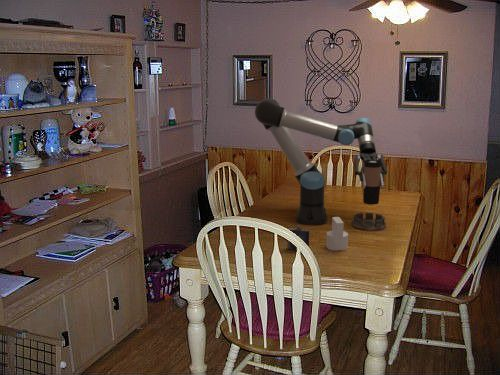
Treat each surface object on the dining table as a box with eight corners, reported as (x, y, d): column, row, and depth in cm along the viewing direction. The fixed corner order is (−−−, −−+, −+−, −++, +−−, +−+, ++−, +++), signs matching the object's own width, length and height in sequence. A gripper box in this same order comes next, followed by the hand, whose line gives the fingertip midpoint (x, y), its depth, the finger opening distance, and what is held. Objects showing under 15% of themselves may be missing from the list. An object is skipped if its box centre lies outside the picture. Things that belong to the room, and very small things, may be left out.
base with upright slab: (324, 243, 238) (325, 217, 235) (345, 243, 238) (346, 216, 235) (328, 250, 229) (329, 223, 226) (349, 250, 229) (351, 222, 227)
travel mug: (369, 205, 255) (370, 163, 250) (359, 201, 261) (361, 160, 257) (382, 203, 258) (384, 161, 253) (372, 199, 264) (374, 158, 260)
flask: (286, 249, 231) (286, 225, 228) (288, 247, 233) (288, 223, 231) (308, 252, 228) (308, 227, 225) (309, 249, 231) (310, 225, 228)
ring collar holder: (367, 233, 251) (368, 223, 250) (344, 224, 265) (344, 215, 264) (393, 227, 260) (393, 218, 258) (369, 219, 273) (369, 210, 272)
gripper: (386, 150, 269) (393, 190, 257) (344, 151, 269) (350, 191, 257) (389, 141, 263) (397, 182, 251) (347, 142, 263) (352, 182, 251)
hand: (373, 186), depth 254 cm, fingers closed on travel mug, 7 cm apart
